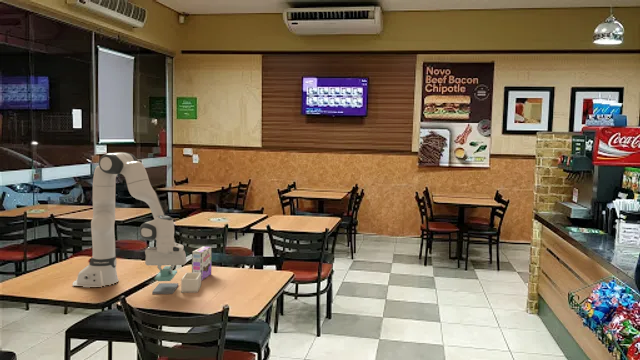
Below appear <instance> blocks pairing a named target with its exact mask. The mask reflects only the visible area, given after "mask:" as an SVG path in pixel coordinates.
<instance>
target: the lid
mask: <svg viewBox="0 0 640 360" xmlns="http://www.w3.org/2000/svg"><path fill="white" fill-rule="evenodd" d="M171 268H172V267H171V265H164V267H163V268H161V269H162V270H161V274H160V271H159V272H158V273H157V274H156V275H155V276H154V280H155V281H156V280H157V282H171V281H172V280H173V279H174V277H175V276H176V274H178V270H175V269H174V270H172V274H169V269H171Z"/></svg>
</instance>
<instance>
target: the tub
mask: <svg viewBox="0 0 640 360" xmlns="http://www.w3.org/2000/svg"><path fill="white" fill-rule="evenodd" d="M180 283H181V285H180V286H181V288H180V289H181V293H182V294H183V293H184V294H185V293H187V294H188V293H189V294H192V293H194V294H197V293H198V292H199V290H200V288H201V287H202V281H201V273H192V272H185V274H184V275H183V276H182V277H181V282H180Z"/></svg>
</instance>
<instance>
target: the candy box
mask: <svg viewBox="0 0 640 360" xmlns="http://www.w3.org/2000/svg"><path fill="white" fill-rule="evenodd" d="M191 273H201V282H202V281H204V280H205V279H206V278H208V277H210V276H211V275H212V246H201V247H199V248H197V249H195V250H192V251H191Z"/></svg>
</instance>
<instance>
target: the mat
mask: <svg viewBox="0 0 640 360" xmlns="http://www.w3.org/2000/svg"><path fill="white" fill-rule="evenodd" d="M178 286H179V283H177V282H176V283H175V282H173V283H172V282H163V283H158V284H157V286H156V287H155V288H154V289H153V290H152V292H151V294H152V295H173V294H174V293H175V292H176V290H177V288H178Z"/></svg>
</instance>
